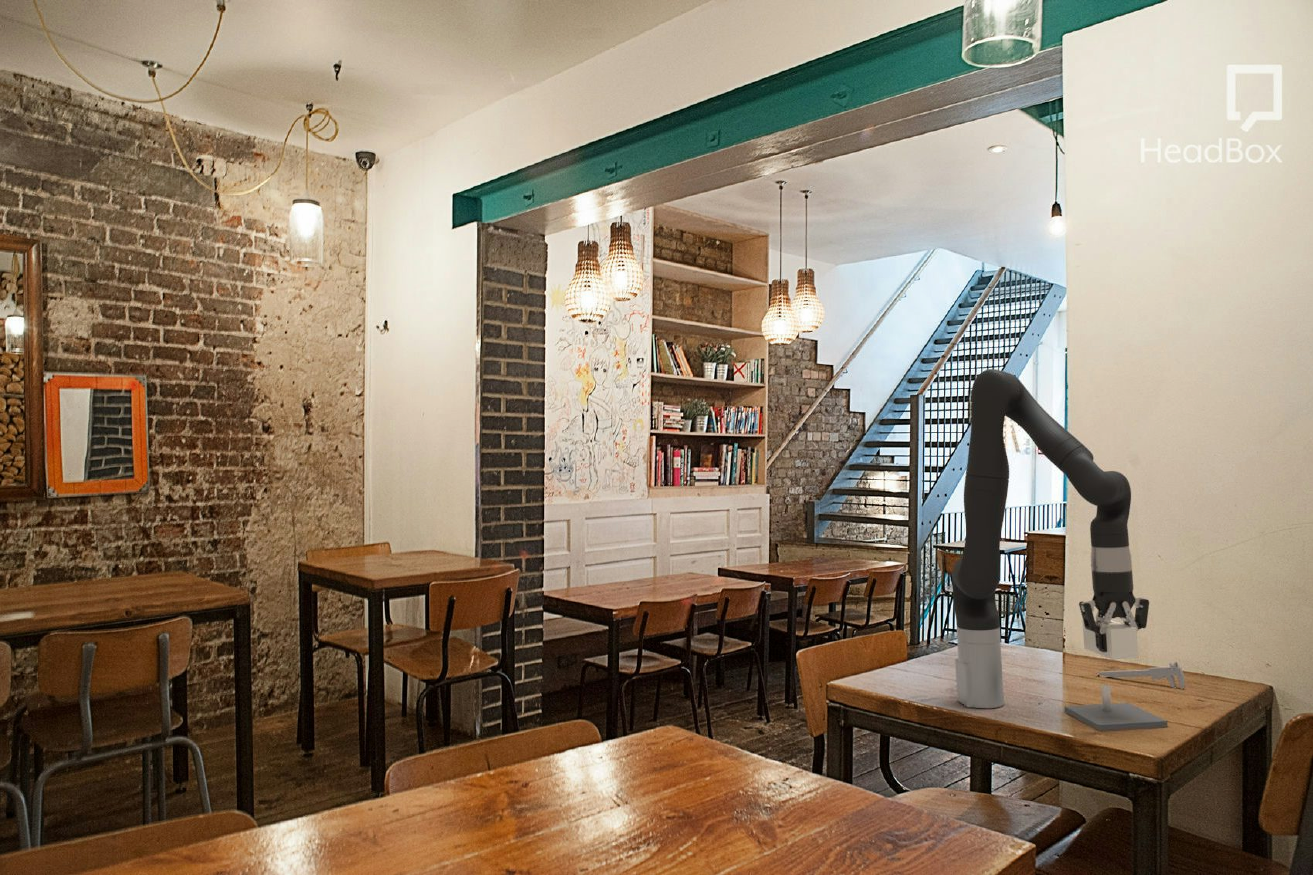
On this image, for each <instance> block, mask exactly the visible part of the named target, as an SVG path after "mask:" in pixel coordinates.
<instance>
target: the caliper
mask: <svg viewBox="0 0 1313 875" xmlns="http://www.w3.org/2000/svg"><path fill="white" fill-rule="evenodd" d="M1168 665H1169V666H1158V667H1150V668H1148V669H1135V670H1134V669H1130V670H1109V671H1108V670H1107V671H1099V672H1098V673H1096V674H1097V675H1103V676H1107V677H1117V679H1118V678H1139V677H1141V678H1143V677H1144V678H1146V677H1147V678H1148V677H1150V678H1151V680H1153V681H1154V680H1161V679H1164V678H1166V680H1167V682H1168V683H1169V685H1170V686H1171V688H1172V687H1177V683H1176V680H1175V677H1174V676H1176V679H1177V681H1178V684H1179V687H1180V689H1181V690H1183V689H1185V688H1186V686H1185V685H1186V683H1185V682H1186V681H1185V674H1184V671H1183V669H1182V666H1179V665H1178V662H1177V661H1176V662H1173V661H1172V662H1169V664H1168Z"/></svg>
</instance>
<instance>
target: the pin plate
mask: <svg viewBox="0 0 1313 875" xmlns="http://www.w3.org/2000/svg"><path fill="white" fill-rule="evenodd" d="M1101 699H1102V700H1101V701H1102V703H1101V704H1085V705H1084V704H1083V705H1068V706H1067V705H1065V706H1064V713H1066V714H1068V715H1069V716H1072V717H1073V718H1075V719H1076V720H1078V721H1080V722H1082V723H1084V724H1086V725H1087V726H1090V727H1091V728H1093V729H1095V730H1097V731H1098V732H1107V731H1109V732H1110V731H1125V730H1140V729H1141V730H1143V729H1157V728H1168V720H1166V719H1163V718H1162V717H1160V716H1157V715H1155V714H1153V713H1151V712H1149V711H1147V710H1144V709H1142V708H1140V707H1139V706H1136V705H1133V704H1132V703H1129V702H1119V703H1117V702H1116V703H1112V700H1111V686H1110V685H1107V684H1104V685H1103V684H1102V685H1101Z"/></svg>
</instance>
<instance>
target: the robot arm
mask: <svg viewBox="0 0 1313 875" xmlns="http://www.w3.org/2000/svg"><path fill="white" fill-rule="evenodd" d="M970 398H971V400H970V402H971V407H970V408H971V409H970V410H971V413H970V414H971V416H970V418H971V419H970V421H971V422H970V423H971V424H970V436H969V437H970V438H969V445H968V454H967V463H966V470H965V477H964V487H963V508H964V520H965V521H964V522H965V541H964V547H963V553H962V557H960V558H959V559H957V561H956V562H954V565H953V567H952V570H951V583H952V597H953V609H954V616H955V622H956V638H957V639H956V640H957V653H958V654H957V657H958V658H955V659H954V660H955V661H954V662H955V675H956V676H955V677H956V678H955V680H956V694H957V695H956V697H957V702H959V703H960V704H962V705H963V704H964V706H965V707H966V708H977V709H993V708H1001V707H1002V706H1004V705H1005V698H1004V697H1005V693H1004V680H1003V679H1004V677H1003V664H1002V663H1003V660H1002V659H1003V658H1002V646H1001V645H1002V644H1001V643H1002V642H1001V624H1000V615H999V612H998V609H997V608H998V607H997V603H996V602H997V601H996V591H997V589H998V587H999V584H1000V580H1001V575H1000V574H1001V572H1000V571H1001V568H1000V561H1001V560H1000V558H1001V556H1000V555H1001V554H1000V553H1001V550H1000V549H1001V534H1002V528H1003V525H1004V524H1003V523H1004V519H1005V513H1006V505H1007V498H1008V491H1009V481H1010V463H1009V460H1008V454H1007V450H1006V446H1005V445H1006V444H1005V440H1004V438H1005V437H1004V429H1005V428H1004V426H1005V418H1006V417H1007V418H1008V419H1010V420H1011V421H1012V422H1014V423H1016V424H1017V425H1018V426H1019V427H1021V429H1022V430H1023V431H1024V432H1025V433H1026V434H1027V435H1028V436H1029V438H1030V439H1031V440H1032V441H1033V443H1034V444H1035V446H1036V447H1037V449H1038V450H1039V451H1040V452H1041V453H1042V454H1043V455H1044V456H1045V458H1047V459H1048V460H1049V461H1050V463H1052V465H1054V466H1055V467H1056V468H1057V469H1058V470H1059V471H1061V473H1063V474H1064V476H1066V477H1067V479H1068V481H1069V482H1070V484H1071V485H1072V486H1073V487H1074V490H1076V492H1077V493H1078V494H1079V495H1080V496H1081V497H1082V498H1083V499H1084V500H1085V501H1086V502H1088V503H1090V504H1091V505H1093V506H1096V515H1095V517H1094V518H1093V519H1092V521H1091V522H1090V527H1089V529H1090V530H1089V532H1090V534H1089V535H1090V550H1091V552H1090V568H1091V580H1092V581H1091V582H1092V583H1091V584H1092V591H1093V597H1092V600H1088V601H1082V600H1081V601H1079V603H1078V606H1079V611H1080V613H1081V618H1082V620H1083V621H1084V625H1085V628H1086V629H1087V630H1090V631H1093V632H1094V633H1095V639H1096V647H1097V648H1098V649H1099V651H1101V652H1107V640H1106V634H1105V632H1106V628H1107V626H1108V624H1109V623H1110V621H1111V620H1112V619H1116V618H1119V619H1120V620H1121V621H1122V622H1123V623H1122V624H1124V625H1128V626H1131V627H1135V628H1137V632H1138V631H1139V630H1142V629H1146V627H1147V623H1148V617H1149V607H1150V600H1149V599H1147V598H1143V597H1136V596H1134V593H1133V591H1134V577H1133V563H1132V562H1133V561H1132V554H1131V550H1130V539H1129V530H1128V529H1129V528H1128V522H1129V517H1130V510H1131V503H1132V502H1131V501H1132V489H1131V485H1130V482H1129V480H1128V478H1127V477H1126V476H1125V475H1124V474H1123V473H1121V472H1120V471H1114V470H1107V471H1104V470H1103V469H1102V468H1100V467H1099V465H1097V464H1096V462H1095V461H1094V455H1093V453H1092V452H1091V450H1090V449H1088V448H1087V447H1086V445H1085V444H1083V443H1082V442H1081V441H1080V440H1078V438H1076V437H1075V436H1074V435H1073V434H1072V433H1071V432H1070V431H1068V430H1067V429H1066V428H1065V427H1064V426H1063V425H1061V424H1060V422H1058V421H1056V420H1055V419H1054V418H1053V417H1052V416H1051V415H1050V414H1049V413H1048V412H1047V411H1046V410H1045V409H1044V408H1043V407H1042V406H1041V405H1040V404H1039V403H1038V401H1037V400H1036V399H1035V398H1034V396H1033V395H1032V394H1031V393H1030V391H1029V390H1028V388H1026V387H1025V385H1024V384H1023V383H1022V381H1021V380H1020V379H1019V378H1018V377H1017V376H1016V375H1014V374H1012V373H1010V372H1006V371H1004V370H999V369H995V368H990V369H985V370H983V371H982V372H980V373H979V374H978V375H977V376H976V378H975V379H974V381H973V383H972V387H971V397H970ZM1094 607H1095V608H1094ZM1133 607H1135V610H1134V611H1135V614H1133V612H1132V608H1133ZM1095 609H1096V610H1097V613H1096V615H1095V617H1094V611H1095ZM1095 620H1096V623H1095ZM1083 621H1082V622H1083Z"/></svg>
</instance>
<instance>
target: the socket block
mask: <svg viewBox="0 0 1313 875" xmlns="http://www.w3.org/2000/svg"><path fill="white" fill-rule="evenodd" d="M1094 620H1095V623H1096V619H1094ZM1081 622H1082V632H1083V634H1082V635H1083V647H1084V648H1083V649H1084V650H1086V651H1090V652H1093V653H1095V654H1098V655H1100V656H1103V657H1106V658H1108V659H1110V660H1127V659H1139V657H1140V656H1139V645H1138V644H1139V643H1138V631H1137V628H1135V627H1131V626H1128V625H1124V623H1121V622H1118V621H1115V620H1112V619H1111V621H1110V623H1109V624H1108V626H1107V628H1106V632H1105V634H1106V640H1107V652H1101V651H1099V649H1098V648H1097V647H1096V639H1095V633H1094V632H1093V631H1090V630H1087V629H1086V628H1085V625H1084V621H1083V619H1082V621H1081Z"/></svg>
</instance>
